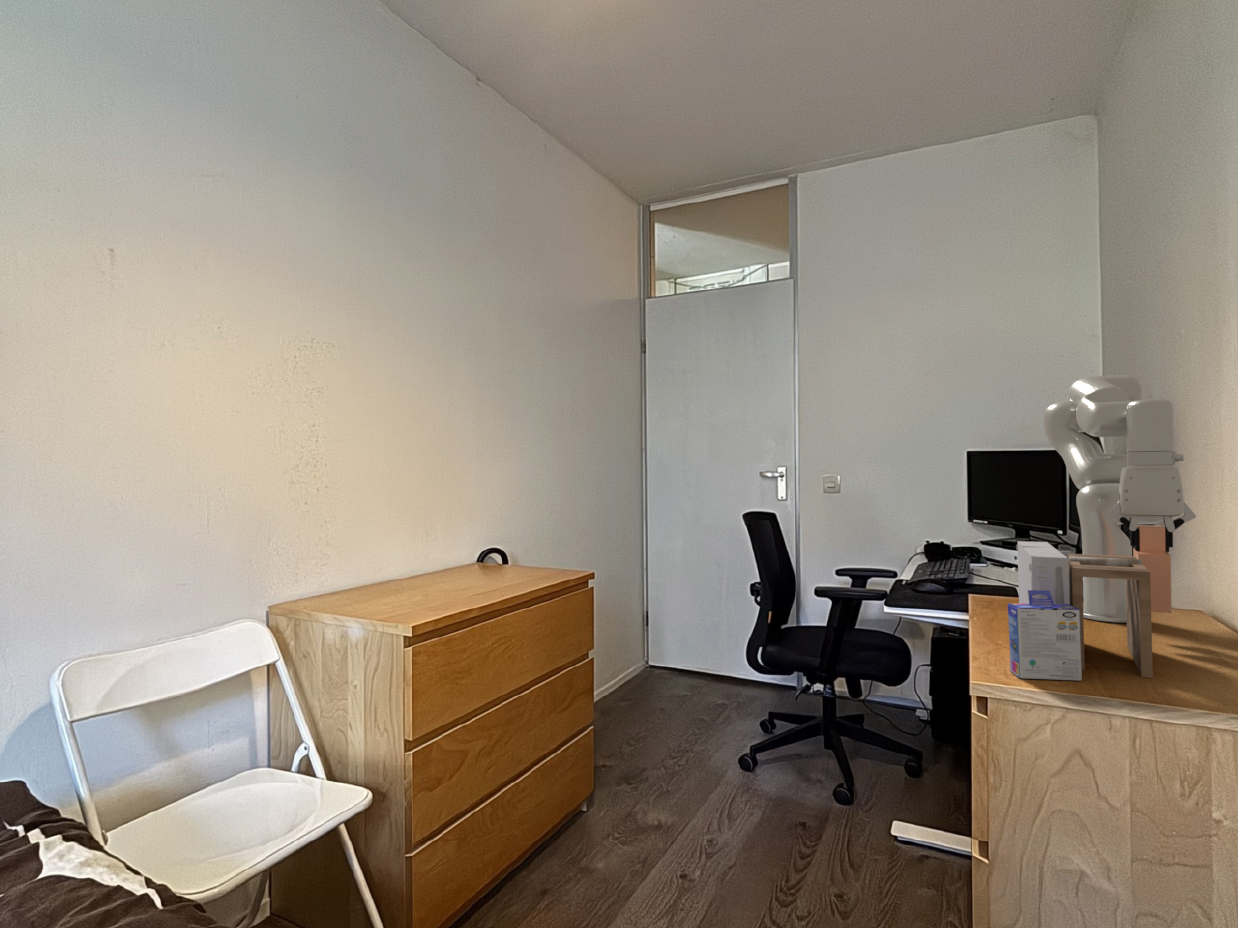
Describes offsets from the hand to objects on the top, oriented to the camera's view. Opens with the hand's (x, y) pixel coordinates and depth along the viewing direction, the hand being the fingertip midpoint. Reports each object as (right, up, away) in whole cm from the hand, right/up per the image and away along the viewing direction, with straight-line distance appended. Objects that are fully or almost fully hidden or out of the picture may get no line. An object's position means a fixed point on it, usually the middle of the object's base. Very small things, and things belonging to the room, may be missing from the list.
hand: (1151, 549), depth 136 cm
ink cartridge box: (-35, -19, -20) cm, 44 cm away
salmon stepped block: (0, -12, 0) cm, 12 cm away
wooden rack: (-17, -19, -10) cm, 27 cm away
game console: (-25, -19, -4) cm, 32 cm away
